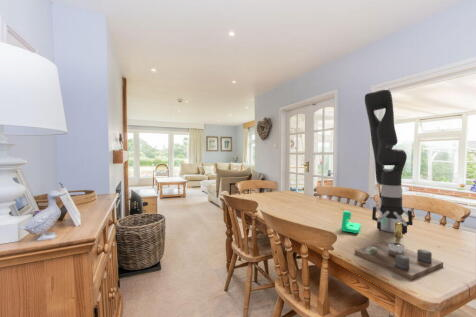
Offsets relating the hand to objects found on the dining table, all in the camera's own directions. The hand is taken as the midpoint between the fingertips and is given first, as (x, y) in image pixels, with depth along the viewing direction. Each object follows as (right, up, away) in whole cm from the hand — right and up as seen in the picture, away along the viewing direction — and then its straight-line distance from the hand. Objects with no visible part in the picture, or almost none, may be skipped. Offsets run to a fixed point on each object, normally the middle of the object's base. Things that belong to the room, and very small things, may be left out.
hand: (391, 231), depth 94 cm
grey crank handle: (-2, -6, -5) cm, 8 cm away
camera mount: (-5, -7, +24) cm, 25 cm away
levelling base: (-4, -8, -9) cm, 13 cm away
